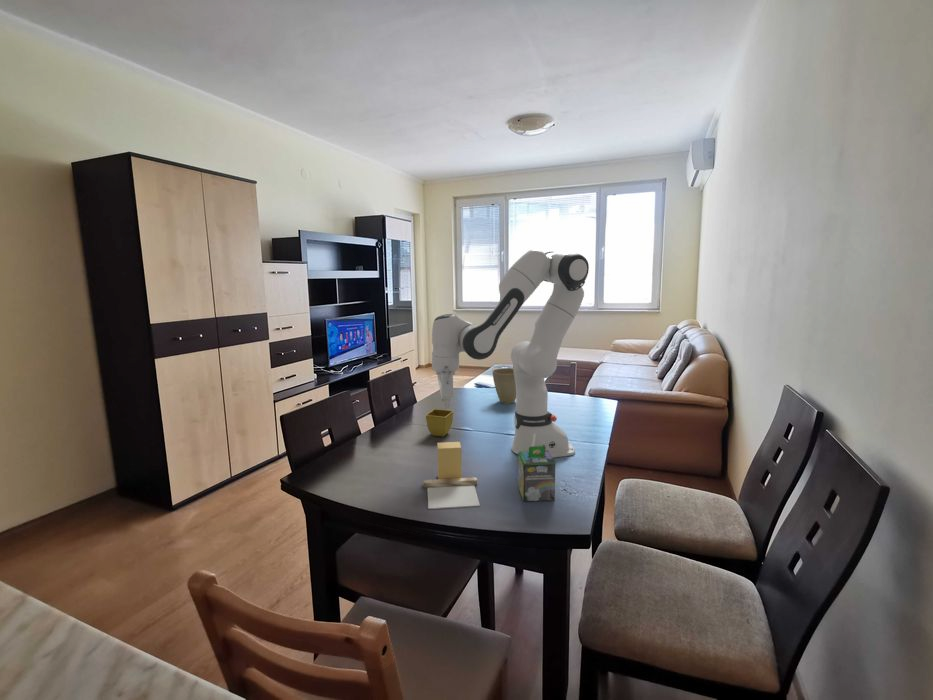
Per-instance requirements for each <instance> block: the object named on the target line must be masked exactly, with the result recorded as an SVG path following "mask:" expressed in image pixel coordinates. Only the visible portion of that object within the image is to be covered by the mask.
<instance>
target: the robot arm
mask: <svg viewBox="0 0 933 700" xmlns="http://www.w3.org/2000/svg"><path fill="white" fill-rule="evenodd" d="M589 269H590V266H589V262H588V260H587V258H586V257H585V256H584V255H582V254H580V253H577V252H570V251H565V250H564V251H563V250H562V251H561V250H560V251H547V252H544V251H542V250H539V249H534V248H533V249H530V250H528V251H526V253H524V254H523V255H522V256H521V257H519V259H517V260H516V261H515V262H514V263H513V264H512V266H510V268H509V269H508V270H507V271H506V273H505V274H504V276H502V277H501V278H502V279H501V281H500V282H499V284H498V292H499V294H500V298H499V301H498V303H497V304H496V306H495V307H494V308H493V310H492V312H490V314H489V315H488V316H487V318H486V319H485V320H484V321H483V322H482V323H480V324H479V325H478V324H475V323H473V322H469V321H467V320H465V319H463V318H461V317H460V316H459V315H458V314H456V313H447V314H442V315H439V316H437V317H436V318H434V320H433V323H432V330H431V344H432V352H431V369H432V370H433V371H435V375H436V376H437V381H438V382H437V383H438V385H439V391H440V396H441V401H442V402H443V410H450V401H451V400H452V399H453V397H454V375H456V372H457V371H459V370H460V353H462V352H463V353H464V352H465V353H466V354H467V356H469V357H470V358H471V359H473V360H486V359H487V358H489V357H490V356H491V355H493V353H494V351H495V350H496V348H497V344H498V342H499V339H500V336H501V335H502V333H503V332H504V331H505V329H506V328H507V326H508V325H509V324H510V323H511V322H512V320H513V318H515V315H516V314H517V313H518V312H519V310H520V309H521V308H522V306H523V305H524V303H526V301H527V300H528V299H530V296H532V295H533V293H534V292H535V291H536V290H537V288H538V287H539V286H540V285H541V283H543V282H547V283H551V284H553V288H552V292H551V294H550V296H549V298H548V300H547V301H546V303H545V305H544V306H543V308H542V310H541V311H540V313H539V315H538V316H537V319H536V320H535V324H534V330H533V334H532V336H531V339H530V341H529V340H528V341H527V340H525V341H519V342H518V343H516V344H514V345H513V347H511V352H510V358H511V361H512V362H511V363H512V368H513V371H514V378H515V384H516V399H515V401H516V402H515V403H516V404H515V405H516V406H515V412H514V427H515V428H514V436H513V441H512V445H511V451H512V452H513V453H514V454H516V455H518V453H519V452H522V451H529V447H532V446H545V450H548V451H549V453H550V454H551V456H552V458H553V459H555V458H560V457H568V456H573V455H575V454H576V451H575V447H574V445H572V444H571V443H570V442H569V439H568V436H567V433H566V432H565V431H564V429H562V428H561V427H560V426H558V425H557V424H556V423H554V422H556V421H557V419H558V418H557V416H556V415H554V414H553V413H551V412H549V411H548V397H549V396H548V394H549V393H548V388H547V385H546V382H545V379H547V378H549V377H551V376H553V375H554V373H555V372H556V369H557V367H558V354H559V352H560V348H561V345H562V342H563V340H564V338H565V336H566V334H567V332H568V330H569V328H570V326H571V325H572V323H573V322H574V320H575V318H576V317H577V314H578V312H579V309H580V308H581V306H582V302H583V299H584V296H585V290H584V289H583V286H584V285H585V284H586V280H587V277H588V276H589V271H590V270H589ZM534 451H537V450H534Z"/></svg>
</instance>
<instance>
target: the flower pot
mask: <svg viewBox="0 0 933 700" xmlns="http://www.w3.org/2000/svg"><path fill="white" fill-rule="evenodd" d="M453 419H454V410H451V409H449V410H444V409H440V408H438V409H437V408H433V409H432V410H430V412H429V411H428V412H427V413H426V414H425V420H426V426H427V429H428V431H429V433H430V434H431V435H432V436H436V437H445V436H446V435H447V434H448V433H449V432H450V430H451V428H452V425H453V421H454V420H453Z"/></svg>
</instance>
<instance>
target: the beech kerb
mask: <svg viewBox="0 0 933 700" xmlns="http://www.w3.org/2000/svg"><path fill="white" fill-rule="evenodd" d="M470 485H474V486H476V485H477V486H478V478H477V477H476V476H475V477H474V476H473V477H462V478H453V479H438V478H437V479H436V478H435V479H424V480H423V488H424V489H425V488H426V489H427V488H435V487H452V486H470Z"/></svg>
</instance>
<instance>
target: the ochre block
mask: <svg viewBox="0 0 933 700" xmlns="http://www.w3.org/2000/svg"><path fill="white" fill-rule="evenodd" d="M462 475H463V474H462V446H461V442H460V441H447V442H446V441H445V442H437V479H453V478H463V477H462Z"/></svg>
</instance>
